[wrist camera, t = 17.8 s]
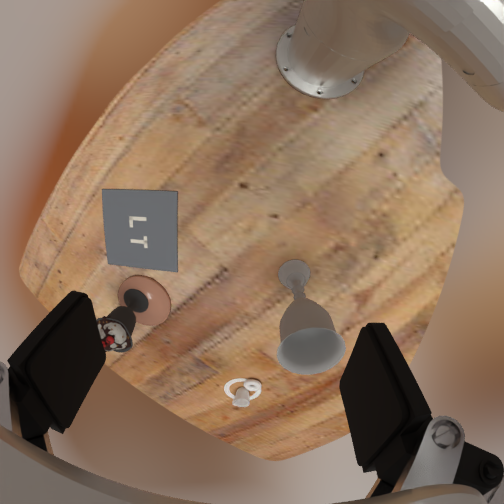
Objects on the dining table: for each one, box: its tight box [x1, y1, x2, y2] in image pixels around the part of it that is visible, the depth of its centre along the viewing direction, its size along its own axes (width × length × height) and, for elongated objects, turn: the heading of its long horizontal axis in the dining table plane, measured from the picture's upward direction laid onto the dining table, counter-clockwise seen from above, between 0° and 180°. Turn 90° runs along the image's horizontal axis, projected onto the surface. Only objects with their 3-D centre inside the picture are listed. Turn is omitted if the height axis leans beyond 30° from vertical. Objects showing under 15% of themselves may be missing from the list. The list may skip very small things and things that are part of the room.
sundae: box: [96, 289, 149, 352], centre depth 39 cm, size 7×7×15 cm
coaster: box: [118, 275, 171, 326], centre depth 46 cm, size 10×10×1 cm
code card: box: [102, 189, 178, 272], centre depth 41 cm, size 13×13×1 cm
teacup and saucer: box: [224, 378, 262, 407], centre depth 53 cm, size 9×8×4 cm
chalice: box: [277, 260, 346, 374], centre depth 35 cm, size 7×7×18 cm
